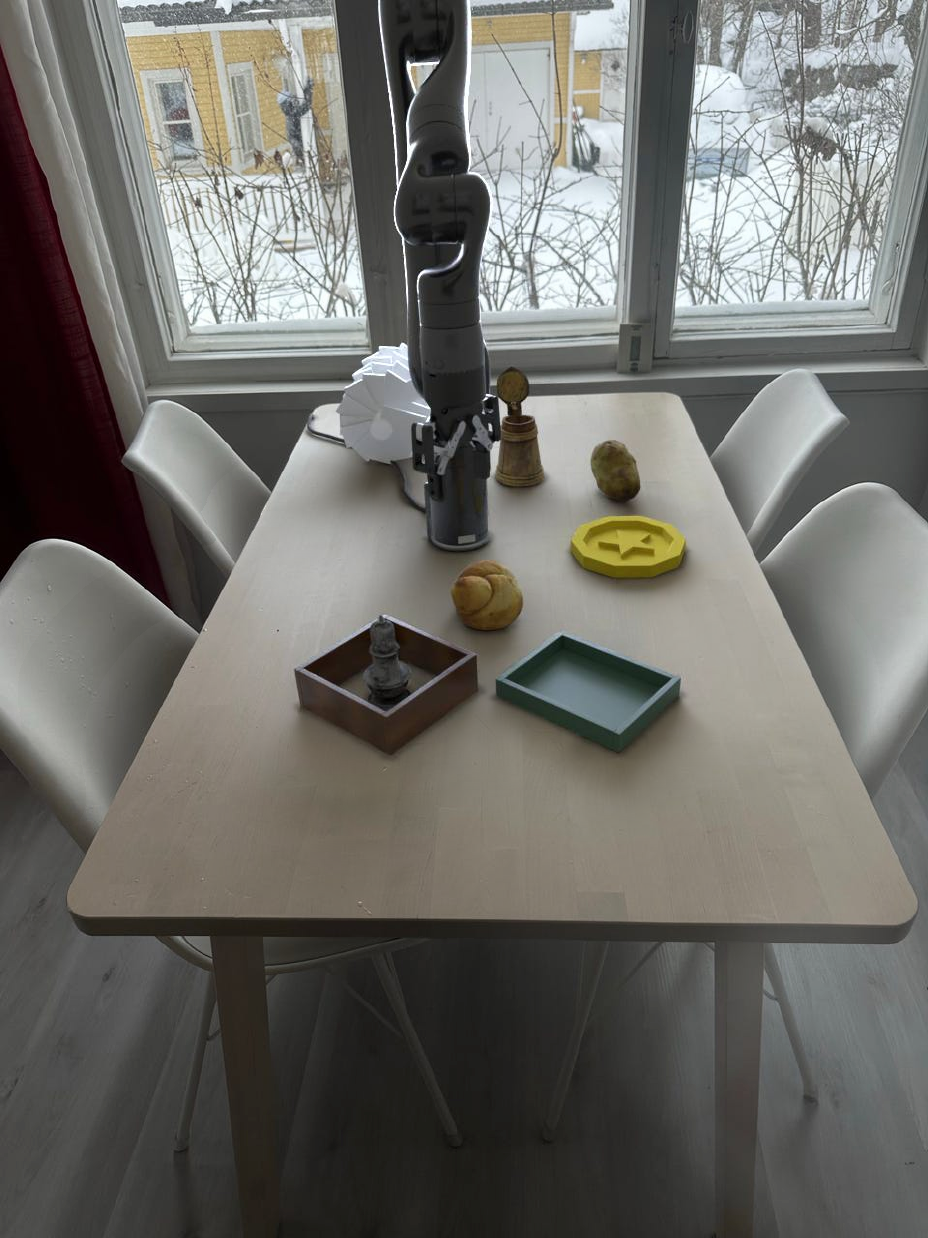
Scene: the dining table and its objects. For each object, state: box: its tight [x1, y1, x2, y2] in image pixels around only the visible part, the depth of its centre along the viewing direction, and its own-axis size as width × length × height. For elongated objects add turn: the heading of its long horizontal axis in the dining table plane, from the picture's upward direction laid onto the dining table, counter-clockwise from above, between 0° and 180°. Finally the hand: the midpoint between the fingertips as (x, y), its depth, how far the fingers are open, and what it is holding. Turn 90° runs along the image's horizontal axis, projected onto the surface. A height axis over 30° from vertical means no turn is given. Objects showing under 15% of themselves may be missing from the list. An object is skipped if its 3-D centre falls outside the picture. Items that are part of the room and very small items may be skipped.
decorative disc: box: [570, 515, 687, 579], centre depth 143 cm, size 17×18×2 cm
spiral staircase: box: [335, 342, 431, 465], centre depth 182 cm, size 18×18×25 cm
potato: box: [589, 439, 642, 502], centre depth 161 cm, size 8×13×8 cm, turn 175°
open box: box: [293, 614, 479, 757], centre depth 112 cm, size 16×16×6 cm
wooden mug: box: [494, 366, 545, 487], centre depth 167 cm, size 9×14×18 cm, turn 6°
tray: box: [495, 630, 682, 753], centre depth 112 cm, size 18×14×3 cm
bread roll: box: [450, 559, 524, 631], centre depth 128 cm, size 13×10×8 cm
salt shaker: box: [362, 614, 412, 712], centre depth 111 cm, size 6×6×12 cm
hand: (460, 488), depth 117 cm, fingers open, 8 cm apart
